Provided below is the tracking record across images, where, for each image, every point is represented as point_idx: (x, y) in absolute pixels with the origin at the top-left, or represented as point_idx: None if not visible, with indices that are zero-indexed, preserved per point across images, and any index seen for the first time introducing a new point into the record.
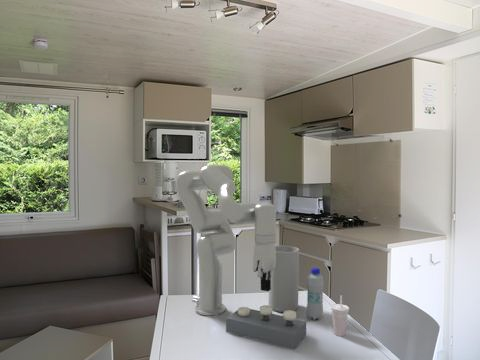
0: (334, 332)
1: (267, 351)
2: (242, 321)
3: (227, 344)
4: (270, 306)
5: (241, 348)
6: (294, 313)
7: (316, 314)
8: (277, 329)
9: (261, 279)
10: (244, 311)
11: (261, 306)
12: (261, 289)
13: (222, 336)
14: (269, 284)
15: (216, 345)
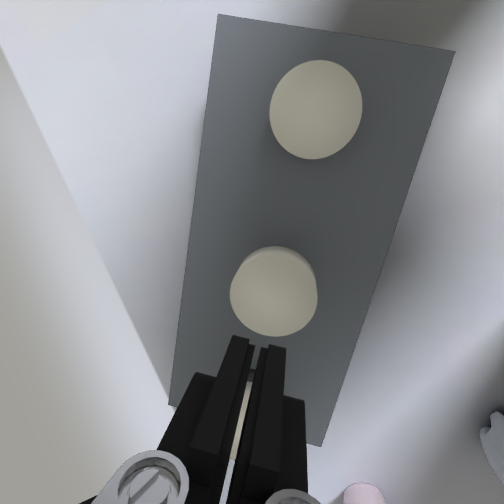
0: (355, 489)
1: (140, 282)
2: (207, 145)
3: (123, 111)
4: (304, 321)
5: (118, 182)
6: None
7: (489, 462)
8: (184, 339)
9: (146, 468)
10: (274, 131)
11: (284, 263)
12: (229, 343)
13: (182, 51)
14: (229, 487)
15: (94, 63)
